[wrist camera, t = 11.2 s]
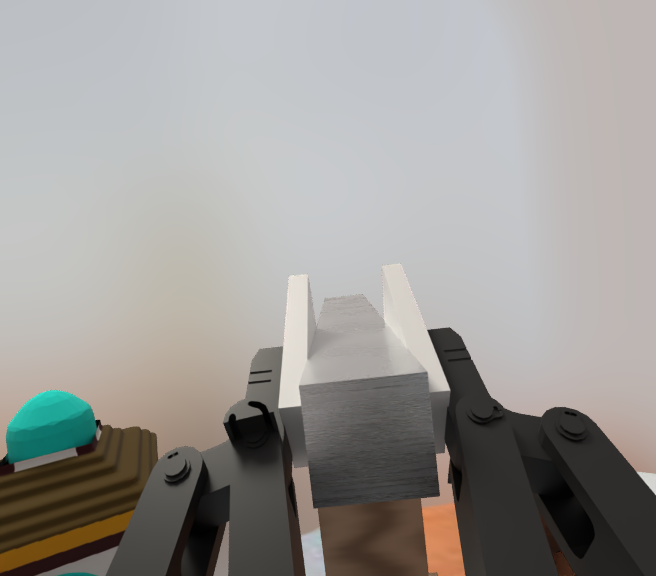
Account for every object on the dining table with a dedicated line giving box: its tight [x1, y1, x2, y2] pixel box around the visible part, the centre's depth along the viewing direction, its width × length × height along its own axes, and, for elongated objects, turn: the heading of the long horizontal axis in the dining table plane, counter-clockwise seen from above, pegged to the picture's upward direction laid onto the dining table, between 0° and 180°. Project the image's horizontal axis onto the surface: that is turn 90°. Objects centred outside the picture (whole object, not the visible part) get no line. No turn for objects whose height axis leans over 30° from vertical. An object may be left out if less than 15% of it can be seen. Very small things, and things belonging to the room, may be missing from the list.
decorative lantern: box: [0, 390, 158, 576], centre depth 38 cm, size 20×20×30 cm
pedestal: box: [318, 498, 438, 576], centre depth 39 cm, size 14×12×30 cm
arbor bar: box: [299, 294, 440, 508], centre depth 20 cm, size 3×22×3 cm, turn 179°
